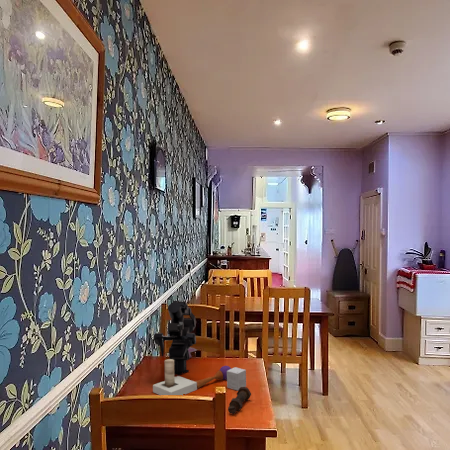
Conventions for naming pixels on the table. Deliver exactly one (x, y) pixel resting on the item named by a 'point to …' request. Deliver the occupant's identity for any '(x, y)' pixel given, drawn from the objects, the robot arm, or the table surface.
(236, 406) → the bolt
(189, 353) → the lily
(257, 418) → the table surface
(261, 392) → the table surface
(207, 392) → the table surface
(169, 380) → the peg
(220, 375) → the kendama
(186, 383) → the board
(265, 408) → the table surface
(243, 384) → the product box
